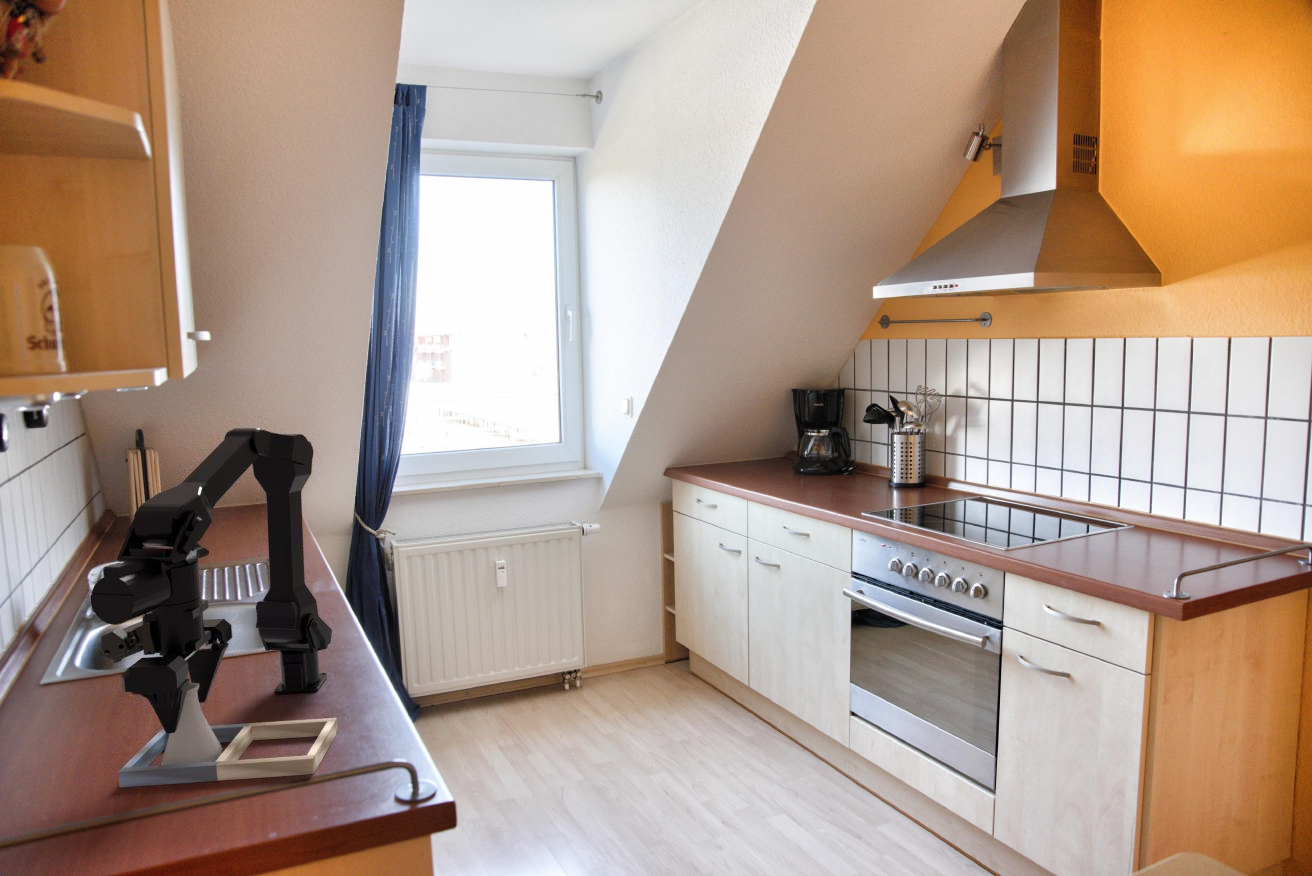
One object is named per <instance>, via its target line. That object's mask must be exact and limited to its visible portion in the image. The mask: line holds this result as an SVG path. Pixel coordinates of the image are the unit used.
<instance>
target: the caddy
mask: <svg viewBox="0 0 1312 876" xmlns="http://www.w3.org/2000/svg"><path fill="white" fill-rule="evenodd" d="M209 726H210V728H211V729H212V731H213V733H214V734H215V736H216V738H217V739H218V741H219V743H229V744H228V745H227V747H226V748H225V750H224V751H222V752H221V755H220V757H219V758H218V759H217V760H216V761H214V762H204V763H189V764H174V765H161V764H159V765H151V764H152V763H153V762H154V761H155V760H156V759H157V758H159V756H160V755H161V754H162V753H163V752H164V751H165V749H166V746H167V742H168V739H169V735H170V733H166V732H165V730H164V728H161V729H160V730H159V732H157V734H155V736H153V738H151V739H150V740H149V741H148V742H147V743H146V744H145V745H144V746H143V747H142V748H141V749H140V750H139V751H138V752H136V754H135V755H134V756H133V757H131V758H130V760H129V761H127V763H125V765H124V766H123V767H121V769H119V770H118V772H117V775H118V785H119V788H131V787H143V786H144V787H145V786H147V787H148V786H158V785H159V786H160V785H161V786H162V785H173V784H174V785H175V784H187V783H188V784H191V783H204V782H216V781H229V780H230V781H231V780H246V779H261V778H275V777H288V776H304V775H314V774H315V773H316V770H317V769H318V768H319V765H320V764H321V762H322V760H323V759H324V756H325V755H326V754H327V751H328V750H329V748H330V747H331V745H332V743H333V741H334V740H335V738H336V736H337V734H338V732H339V729H338V728H339V726H338V717H328V718H325V717H324V718H312V719H296V720H280V721H265V722H263V721H262V722H249V723H247V722H246V723H234V724H219V725H209ZM306 737H307V738H308V737H317V738H316V740H314V743H313V745H312V746H311V747H310V749H309V750H308V752H307V754H306V755H296V756H295V755H294V756H280V757H278V756H277V757H266V758H265V757H264V758H251V759H249V758H248V759H240V758H241V756H242V755H243V753H244V752H245V751H246V750H247V748H249V746H250V745H251V743H252V742H253V741H259V740H260V741H263V740H275V739H276V740H278V739H291V738H294V739H295V738H306Z"/></svg>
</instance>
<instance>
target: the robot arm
mask: <svg viewBox="0 0 1312 876" xmlns="http://www.w3.org/2000/svg"><path fill="white" fill-rule="evenodd" d="M313 459H314V447H313V445H312V443H311V441H309V440H308V438H307V437H306V436H305V435H304V434H301V433H276V432H272V431H268V430H265V429H262V428H260V427H242V428H241V427H238V428H237V427H236V428H233V429H230V430H228V431H227V432H226V433H225V436H224V439H223V440H222V442H220V443H219V444H218V445H217V446H216V447H215V448H214V450H213V451H212V452H210V453H209V454H208V456H207V457H205V458H204V460H203V461H202V462H201V463H199V465H198V466H197V467H196V468H195V469H194V470H193V471H192V472H190V474H189V475H188V476H186V478H184V479H183V481H182V482H180V483H179V484H178V485H176V486H174V487H171V488H169V489H166V490H163V491H161V492H158V493H157V494H155V495H153V496H152V497H151V498H149V499H148V500H146V501H144V502H143V503H142V504H140V505H139V507H138V508H137V510H135V513H134V514H133V518H132V519H133V520H132V522H131V524H130V527H129V530H128V531H127V534H126V537H125V538H124V541H123V543H122V546H121V548H120V550H119V553H118V556H117V558H116V559H117V562H118V563H115V564H109V565H106V566H104V567H103V568H102V573H103V577H102V578H100V579H98V580H97V581H96V582H95V584H94V586H93V587H92V592H91V594H90V596H89V600H90V601H89V602H90V606H91V608H92V610H93V612H94V614H95V616H97V618H98V619H100V620H101V621H102V622H104V623H106V624H107V625H113V626H117V625H121V624H123V623H127V622H128V621H132V620H133V619H137V618H138V617H141V616H142V620H141V621H138V622H136V623H133V624H131V625H128V626H126V627H123V628H121V627H117V628H115V629H113V630H111V631H106V632H105V633H104V634H102V635H101V636H100V643H99V646H100V651H99V655H100V656H101V657H104V658H105V659H107V660H111V663H112V664H117V663H119V662H122V660H123V659H125V658H128V657H130V656H133V655H136V654H137V653H140V652H142V651H143V656H147V657H141V658H140V659H138V660H137V661H136V662H134V663H133V664H132V665H130V666H129V667H127V669H126V670H125V671H124V672H123V673H122V674H121V685H122V686H121V687H122V692H124V693H130V694H131V695H136V696H138V695H139V696H140V697H144V698H145V699H146V700H148V702H149V703H150V705H151V707H152V709H153V711H154V712H155V715H156V717H157V719H158V721H159V722H160V724H161V727H162V729H164V730H165V732H166V733H175V732H176V730H177V727H178V724H179V720H180V716H181V712H182V708H183V704H184V701H185V697H186V693H187V689H188V685H189V683H191V682H192V683H199V688H198V691H197V693H198V700H199V703H200V704H202V703H203V704H204V703H205V702H206V701H207V699H208V697H209V693H210V691H211V688H212V686H213V683H214V680H215V678H216V675H217V673H218V671H219V668H220V665H221V662H222V660H223V658H224V656H225V653H226V650H227V648H228V647H229V641H231V640H232V638H233V630H232V629H233V626H232V624H231V623H230V622H228V621H227V620H226V619H225V618H215V619H214V618H213V619H212V618H211V619H204V612H205V611H206V610H207V609H209V600H207V599H204V600H202V599H203V597H202V588H201V587H202V586H201V577H200V574H201V573H200V564H199V560H200V559H201V558H205V557H207V556H209V555H210V550H209V549H207V548H206V547H204V546H203V545H201V544H199V543H200V541H201V540H202V538H203V537H204V535H205V534H206V532H207V530H208V529H209V528H210V526H211V524H212V523H213V509H214V508H215V506H216V504H217V503H218V502H219V501H220V500H221V499H222V498H223V496H225V494H226V493H227V492H228V491H229V490H230V489H231V488H232V486H233V485H234V484H235V483H236V482H237V481H238V480H239V479H240V478H241V476H242V475H244V473H245V472H247V470H248V469H249V468H250V467H251V465H252V471H253V472H252V473H253V476H254V478H255V480H256V481H257V483H258V484H259V485H260V487H261V489H262V490H263V491H264V492H265V500H266V501H265V502H266V503H265V505H266V526H267V527H266V528H267V547H268V549H267V550H268V571H269V574H268V575H269V588H268V589H267V592H266V594H265V596H264V597H263V599H262V600H258V601H257V602H256V604H255V612H256V624H255V629H257V630H258V635H259V637H260V639H261V641H262V642H261V643H262V644H263V646H264V647H263V648H264V649H265V651H266V652H267V651H268V652H270V651H274V652H275V651H276V652H278V657H279V658H278V659H279V670H280V682H279V683H277V685H276V687H275V688H274V689H273V693H274V694H288V693H289V694H290V693H293V694H294V693H306V692H308V693H309V692H316V691H319V689H320V687H321V686H322V684H323V683H324V681H325V680H326V678H327V677H328V673H327V672H321V670H320V669H321V668H320V667H321V665H320V655H319V654H320V653H319V652H320V651H323V650H326V649H328V648H329V645H330V644H331V641H332V634H333V629H332V628H331V627H330V626H329V625H328V624H327V623H326V621H324V620H323V619H322V618H321V617H320V616H319V609H318V603H317V600H316V598H315V596H314V595H313V594H312V592H311V591H310V589H309V587H308V586H307V585H306V581H305V578H306V577H305V558H304V557H305V556H304V552H305V551H304V531H303V530H304V527H303V505H302V501H303V500H302V491H303V489H304V487H305V485H306V483H307V482H308V481H309V479H310V477H311V475H312V471H313V470H312V469H313ZM144 546H145V547H144ZM155 654H159V656H153V655H155ZM188 675H189V678H188Z"/></svg>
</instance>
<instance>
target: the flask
mask: <svg viewBox="0 0 1312 876" xmlns="http://www.w3.org/2000/svg"><path fill="white" fill-rule="evenodd" d="M198 688H199V683H192V682H191V681H190V682H189V685H188V689H187V693H186V697H185V701H184V704H183V708H182V712H181V716H180V720H179V724H178V727H177V730H176V732H175V733H170V735H169V739H168V742H167V746H166V748H165V749H164V751H163V752H164V753H163V756H162V760H161V763H160V765H174V764H189V763H204V762H215V761H216V760H217V759H218V758H219V757H220V755H221V754H222V753H223V746H222V744H221V742H219V741H218V739H217V738H216V736H215V734H214V733H213V731H212V729H211V728H210V726H211V725H210V724H209V722H208V720H207V719H206V717H205V715H204V713H203V710H202V707H201V703H199V700H198V693H197V691H198Z"/></svg>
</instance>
